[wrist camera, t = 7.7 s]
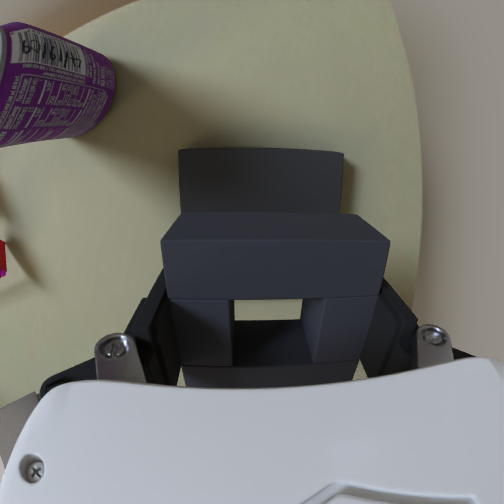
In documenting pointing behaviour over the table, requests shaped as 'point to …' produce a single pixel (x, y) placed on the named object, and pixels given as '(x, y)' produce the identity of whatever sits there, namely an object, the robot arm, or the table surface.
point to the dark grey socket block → (271, 295)
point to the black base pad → (260, 180)
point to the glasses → (2, 259)
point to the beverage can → (49, 86)
